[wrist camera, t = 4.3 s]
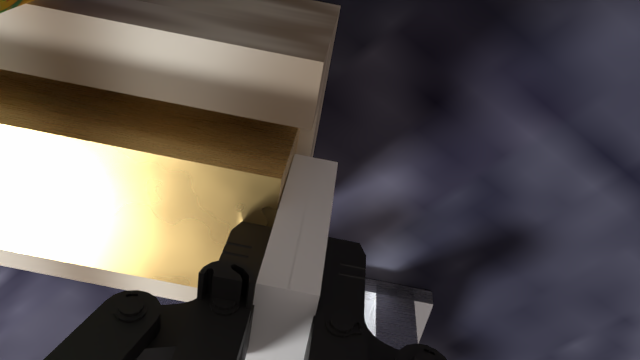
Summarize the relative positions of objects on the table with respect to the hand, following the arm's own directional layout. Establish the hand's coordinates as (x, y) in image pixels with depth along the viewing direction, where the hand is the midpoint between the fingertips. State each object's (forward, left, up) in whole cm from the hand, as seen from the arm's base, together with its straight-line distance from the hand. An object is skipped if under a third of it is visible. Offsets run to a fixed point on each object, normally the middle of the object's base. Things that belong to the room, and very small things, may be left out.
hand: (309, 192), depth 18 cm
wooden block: (-8, 0, -1) cm, 8 cm away
